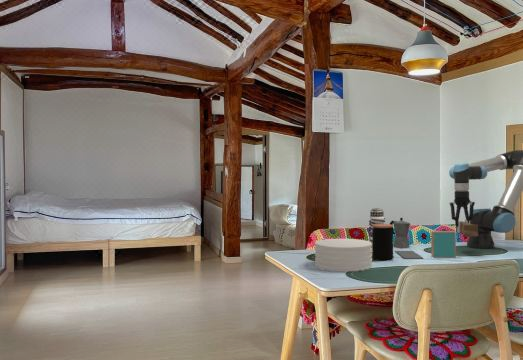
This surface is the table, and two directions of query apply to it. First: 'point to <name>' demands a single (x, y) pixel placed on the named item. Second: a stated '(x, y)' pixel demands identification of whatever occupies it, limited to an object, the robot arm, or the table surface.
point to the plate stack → (343, 254)
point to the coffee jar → (382, 241)
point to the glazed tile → (443, 244)
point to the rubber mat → (409, 255)
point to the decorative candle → (375, 220)
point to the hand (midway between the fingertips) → (462, 232)
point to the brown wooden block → (468, 229)
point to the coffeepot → (401, 233)
